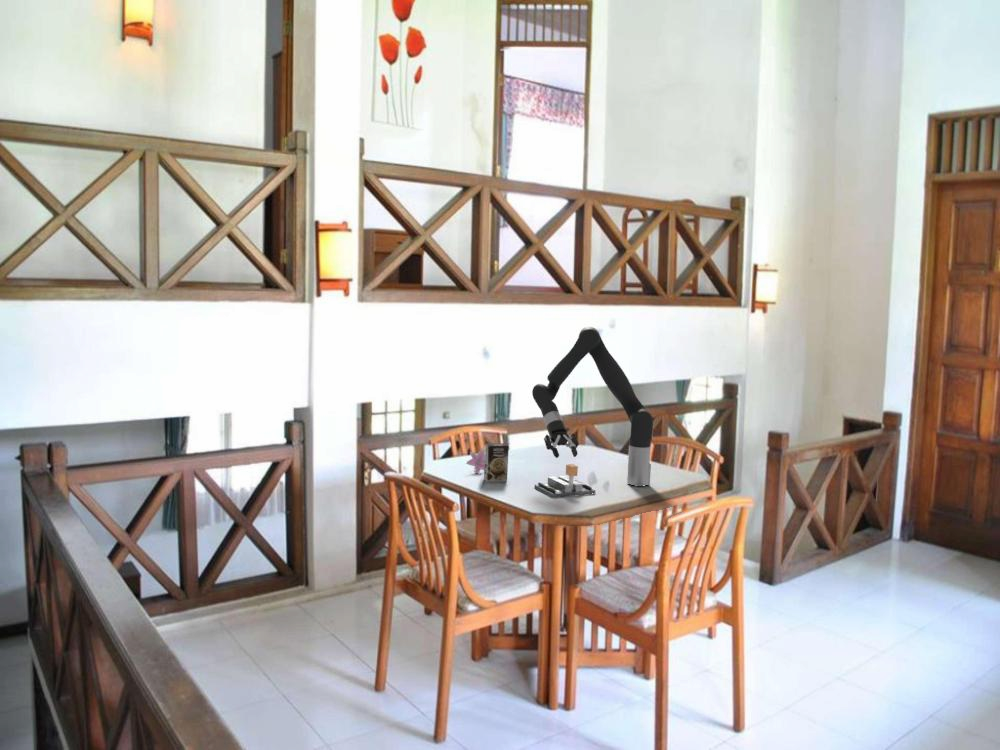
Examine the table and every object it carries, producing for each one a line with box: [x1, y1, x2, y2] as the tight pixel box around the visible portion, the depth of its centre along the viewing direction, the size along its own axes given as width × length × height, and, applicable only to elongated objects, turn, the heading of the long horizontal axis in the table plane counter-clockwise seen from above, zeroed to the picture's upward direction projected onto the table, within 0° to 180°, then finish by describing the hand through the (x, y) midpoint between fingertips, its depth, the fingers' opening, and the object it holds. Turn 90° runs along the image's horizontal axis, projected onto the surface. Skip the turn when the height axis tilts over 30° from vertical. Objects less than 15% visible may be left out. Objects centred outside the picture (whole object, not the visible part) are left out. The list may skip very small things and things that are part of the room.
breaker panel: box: [533, 475, 596, 498], centre depth 344 cm, size 20×16×4 cm
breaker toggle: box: [565, 463, 579, 490], centre depth 339 cm, size 3×4×10 cm
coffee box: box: [483, 442, 509, 484], centre depth 357 cm, size 9×6×16 cm
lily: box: [465, 448, 485, 474], centre depth 373 cm, size 12×12×10 cm
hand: (566, 456), depth 342 cm, fingers open, 8 cm apart
